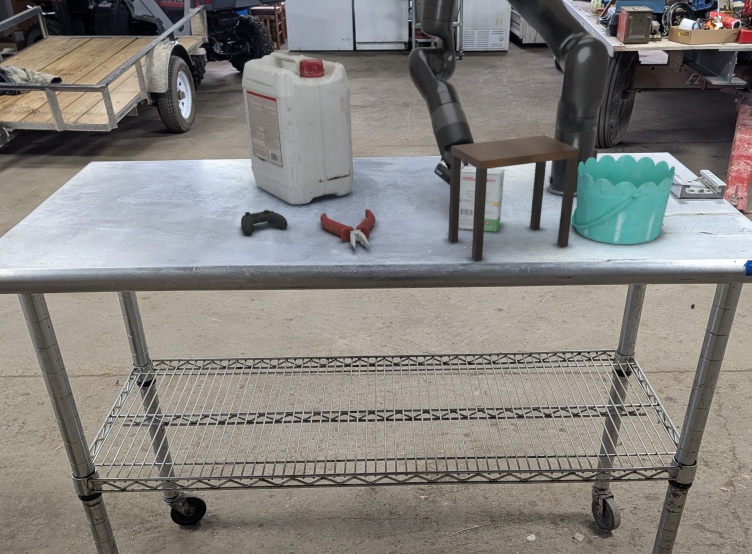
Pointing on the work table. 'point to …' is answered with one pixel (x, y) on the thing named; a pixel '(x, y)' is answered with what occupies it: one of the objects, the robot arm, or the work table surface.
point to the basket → (622, 199)
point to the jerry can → (299, 126)
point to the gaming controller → (261, 220)
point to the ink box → (492, 198)
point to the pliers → (350, 229)
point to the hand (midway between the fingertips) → (473, 202)
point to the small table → (511, 155)
